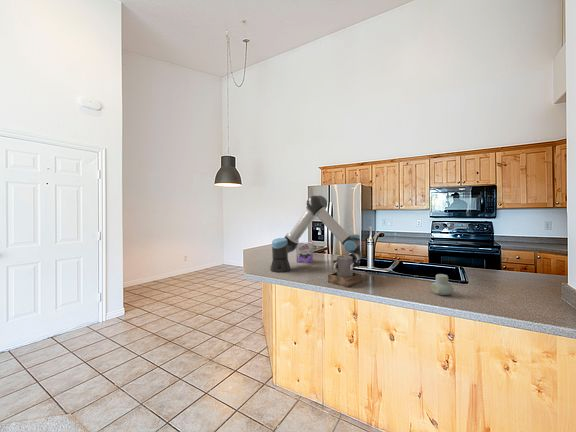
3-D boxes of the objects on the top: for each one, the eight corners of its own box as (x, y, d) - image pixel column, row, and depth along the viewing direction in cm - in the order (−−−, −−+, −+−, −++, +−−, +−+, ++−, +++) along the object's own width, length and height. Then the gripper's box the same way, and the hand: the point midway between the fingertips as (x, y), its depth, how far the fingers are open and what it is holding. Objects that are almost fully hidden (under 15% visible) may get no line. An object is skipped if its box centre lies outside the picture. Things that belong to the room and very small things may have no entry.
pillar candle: (335, 276, 176) (334, 253, 175) (350, 275, 177) (349, 252, 176) (339, 281, 166) (339, 257, 165) (355, 280, 167) (354, 256, 166)
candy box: (296, 262, 230) (296, 243, 229) (297, 260, 236) (296, 241, 235) (312, 262, 228) (312, 242, 227) (313, 260, 233) (312, 241, 233)
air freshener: (428, 290, 152) (428, 273, 151) (442, 289, 152) (442, 272, 152) (440, 297, 141) (440, 278, 140) (456, 296, 142) (456, 277, 141)
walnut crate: (328, 282, 172) (327, 274, 172) (342, 277, 182) (342, 270, 182) (347, 287, 161) (347, 279, 161) (362, 281, 171) (361, 274, 171)
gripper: (368, 265, 182) (361, 274, 162) (336, 263, 192) (325, 270, 172) (368, 254, 181) (360, 262, 162) (336, 252, 192) (325, 259, 172)
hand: (342, 266), depth 167 cm, fingers closed on pillar candle, 9 cm apart
